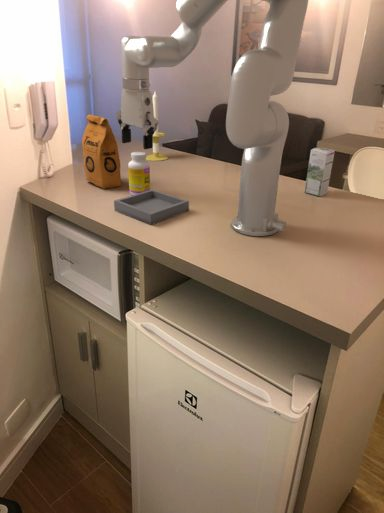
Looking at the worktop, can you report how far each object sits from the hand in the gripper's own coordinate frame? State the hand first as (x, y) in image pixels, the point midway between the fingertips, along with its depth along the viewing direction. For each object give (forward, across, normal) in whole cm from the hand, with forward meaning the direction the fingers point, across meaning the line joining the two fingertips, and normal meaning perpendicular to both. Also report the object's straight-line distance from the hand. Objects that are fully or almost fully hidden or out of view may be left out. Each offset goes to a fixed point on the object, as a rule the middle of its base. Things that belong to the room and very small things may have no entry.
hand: (137, 145), depth 127 cm
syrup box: (+14, -41, -42) cm, 60 cm away
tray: (+15, -15, +8) cm, 22 cm away
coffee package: (+16, +15, +2) cm, 22 cm away
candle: (+16, +29, -36) cm, 49 cm away
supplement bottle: (+15, -1, 0) cm, 15 cm away
